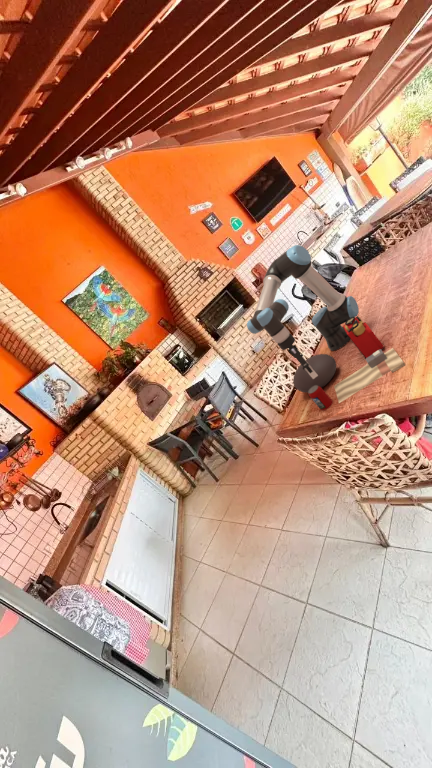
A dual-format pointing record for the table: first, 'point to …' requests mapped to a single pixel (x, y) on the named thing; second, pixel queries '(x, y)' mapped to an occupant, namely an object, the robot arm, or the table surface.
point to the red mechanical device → (362, 336)
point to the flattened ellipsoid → (323, 368)
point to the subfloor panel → (367, 375)
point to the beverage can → (320, 397)
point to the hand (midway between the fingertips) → (312, 372)
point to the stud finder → (376, 358)
